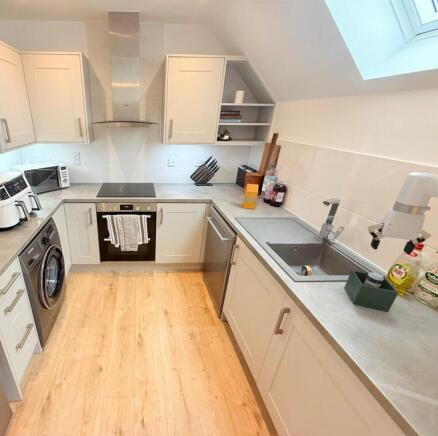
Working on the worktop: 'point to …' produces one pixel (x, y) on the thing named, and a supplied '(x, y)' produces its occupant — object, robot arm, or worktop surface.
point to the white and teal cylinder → (374, 280)
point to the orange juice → (250, 196)
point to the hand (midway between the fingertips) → (389, 250)
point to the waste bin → (370, 292)
